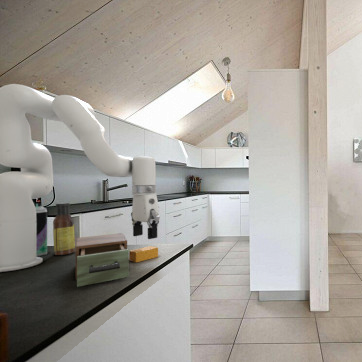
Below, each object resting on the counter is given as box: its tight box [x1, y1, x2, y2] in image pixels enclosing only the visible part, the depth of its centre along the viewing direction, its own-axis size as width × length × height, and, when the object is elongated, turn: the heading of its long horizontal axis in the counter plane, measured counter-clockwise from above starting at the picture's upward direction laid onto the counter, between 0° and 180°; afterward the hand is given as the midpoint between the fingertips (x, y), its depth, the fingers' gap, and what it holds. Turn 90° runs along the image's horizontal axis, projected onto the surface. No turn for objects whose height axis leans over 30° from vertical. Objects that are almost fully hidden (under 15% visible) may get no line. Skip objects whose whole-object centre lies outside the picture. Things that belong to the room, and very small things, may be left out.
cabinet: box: [75, 232, 128, 281], centre depth 84 cm, size 15×13×10 cm
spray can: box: [33, 202, 48, 257], centre depth 99 cm, size 6×6×20 cm
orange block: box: [129, 245, 159, 263], centre depth 94 cm, size 8×4×4 cm, turn 148°
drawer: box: [76, 243, 130, 288], centre depth 74 cm, size 18×11×8 cm, turn 38°
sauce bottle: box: [52, 202, 76, 256], centre depth 100 cm, size 7×6×20 cm
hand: (145, 236), depth 94 cm, fingers open, 9 cm apart
